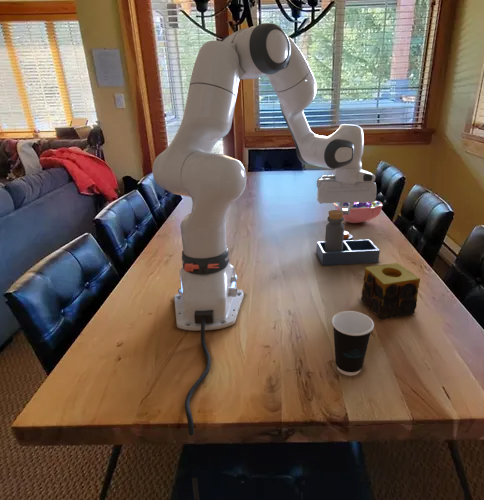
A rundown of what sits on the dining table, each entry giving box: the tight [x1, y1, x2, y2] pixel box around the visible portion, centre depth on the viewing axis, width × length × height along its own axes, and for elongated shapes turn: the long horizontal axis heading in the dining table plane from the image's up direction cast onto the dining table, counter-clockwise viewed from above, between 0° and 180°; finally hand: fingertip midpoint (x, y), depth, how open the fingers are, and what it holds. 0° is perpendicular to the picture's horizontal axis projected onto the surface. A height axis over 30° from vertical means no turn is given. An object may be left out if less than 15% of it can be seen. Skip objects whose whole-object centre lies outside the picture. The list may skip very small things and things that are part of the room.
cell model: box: [333, 199, 383, 224], centre depth 155 cm, size 17×20×11 cm
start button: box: [344, 230, 350, 238], centre depth 134 cm, size 4×4×2 cm
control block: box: [343, 233, 354, 241], centre depth 135 cm, size 10×8×3 cm
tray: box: [316, 238, 381, 266], centre depth 123 cm, size 10×18×4 cm, turn 95°
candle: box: [360, 262, 421, 321], centre depth 94 cm, size 10×10×10 cm
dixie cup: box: [331, 310, 375, 377], centre depth 74 cm, size 8×8×11 cm
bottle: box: [324, 209, 345, 252], centre depth 121 cm, size 6×6×15 cm
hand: (344, 214), depth 131 cm, fingers closed
